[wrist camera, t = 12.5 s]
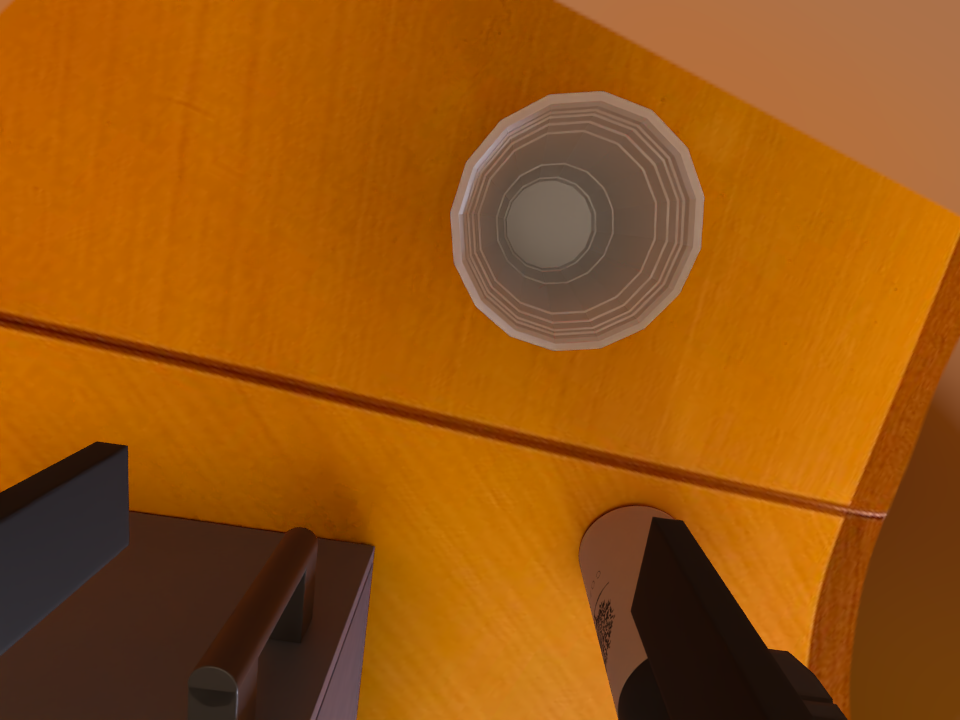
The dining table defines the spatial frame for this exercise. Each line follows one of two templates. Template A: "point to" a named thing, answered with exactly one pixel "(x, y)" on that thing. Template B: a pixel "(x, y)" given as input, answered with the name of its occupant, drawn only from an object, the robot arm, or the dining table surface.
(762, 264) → the dining table surface
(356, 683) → the cupboard
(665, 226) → the plastic cup
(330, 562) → the cupboard door
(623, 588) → the travel mug
